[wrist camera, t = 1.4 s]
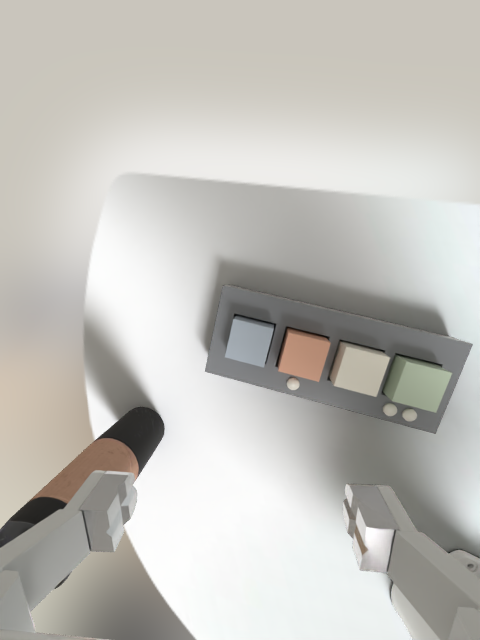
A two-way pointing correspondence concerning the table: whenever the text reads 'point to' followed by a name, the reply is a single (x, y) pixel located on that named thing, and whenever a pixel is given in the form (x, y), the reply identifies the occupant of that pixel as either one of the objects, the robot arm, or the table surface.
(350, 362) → the cream key
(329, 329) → the keypad
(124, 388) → the table surface
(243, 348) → the slate key
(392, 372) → the sage key
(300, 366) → the terracotta key
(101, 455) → the travel mug
